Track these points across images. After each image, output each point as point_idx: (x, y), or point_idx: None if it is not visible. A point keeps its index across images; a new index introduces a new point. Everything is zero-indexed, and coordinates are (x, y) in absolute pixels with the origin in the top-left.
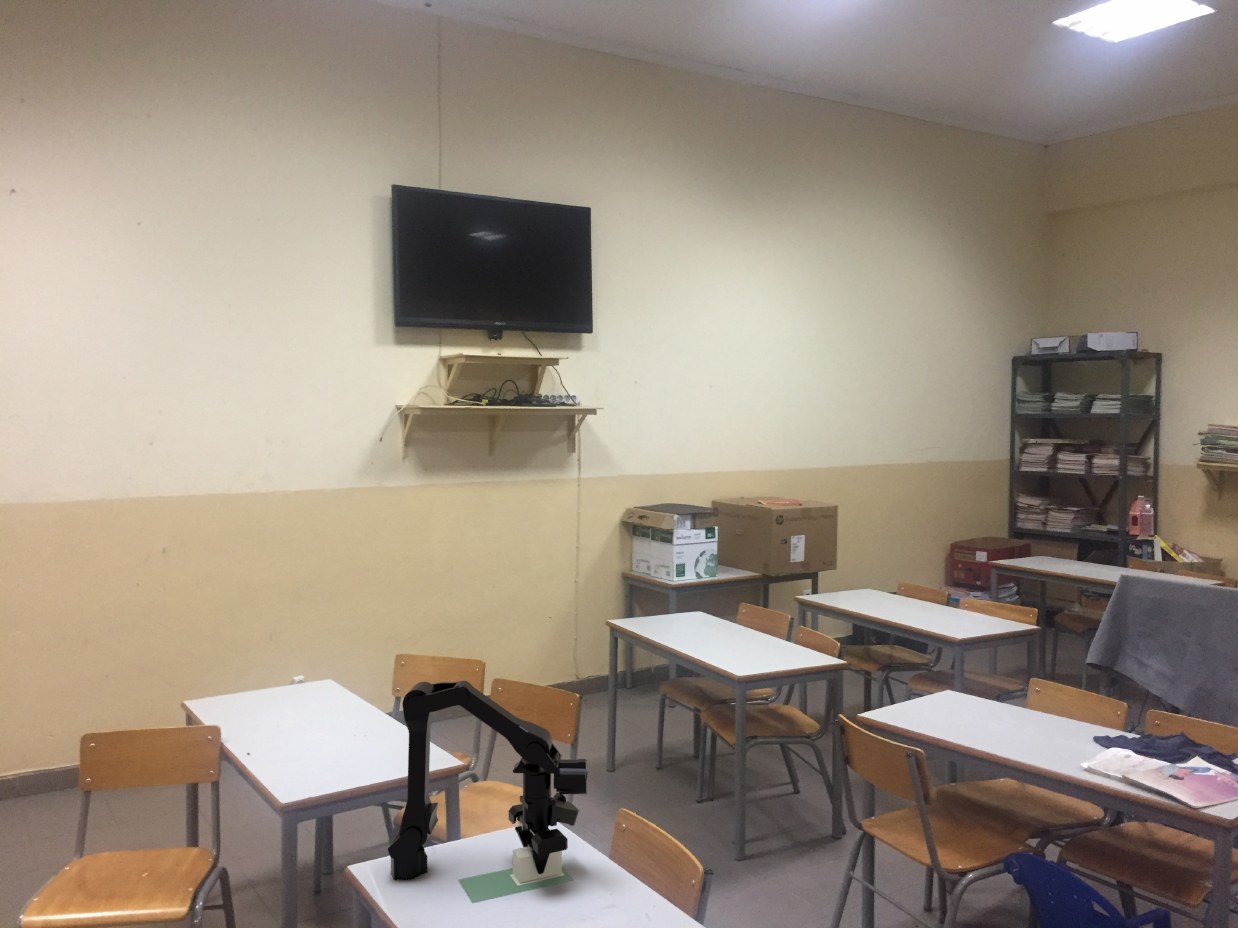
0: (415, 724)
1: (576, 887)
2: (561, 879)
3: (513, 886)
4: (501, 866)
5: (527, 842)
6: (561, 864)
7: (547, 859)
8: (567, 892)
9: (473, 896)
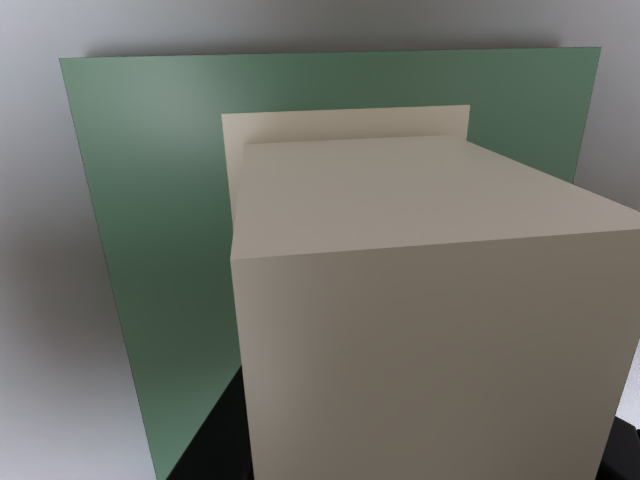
0: None
1: (598, 39)
2: (519, 161)
3: None
4: (21, 473)
5: None
6: (497, 153)
7: (622, 422)
8: (615, 144)
9: None
